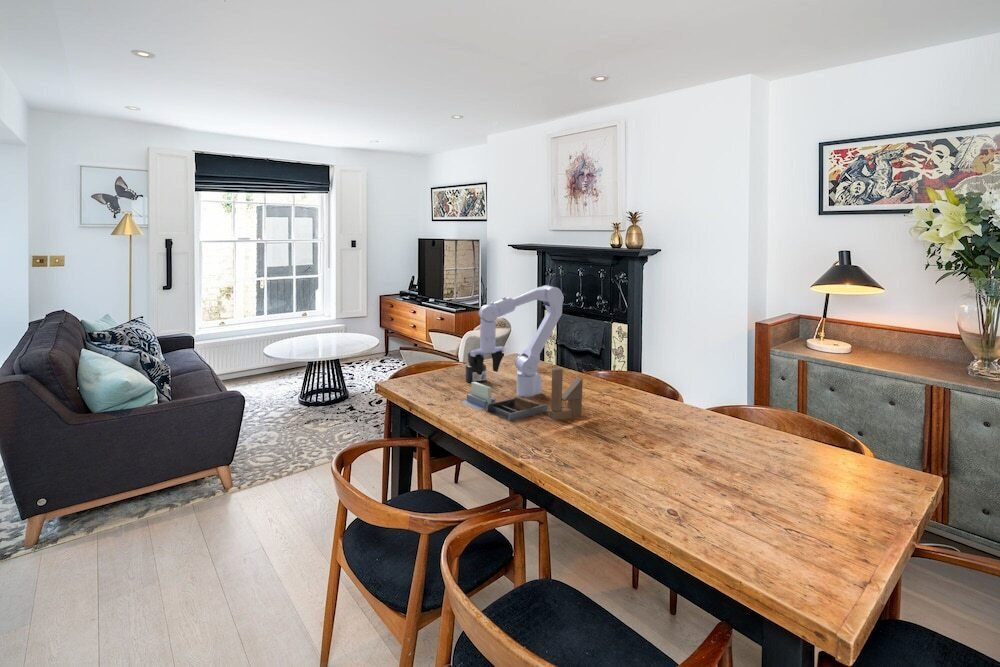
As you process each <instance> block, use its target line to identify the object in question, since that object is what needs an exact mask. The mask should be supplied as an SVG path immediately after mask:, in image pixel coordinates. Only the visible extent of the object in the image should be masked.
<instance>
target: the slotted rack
mask: <svg viewBox="0 0 1000 667" xmlns="http://www.w3.org/2000/svg"><path fill="white" fill-rule="evenodd" d="M519 397H521V398H525V399H526V397H525V396H519ZM485 410H486V413H488V414H491V415H493V416H496V417H499V418H500V419H503V420H506V421H508V422H510V423H511V422H514V421H517V420H522V419H526V418H529V417H532V416H537V415H540V414H544V413H547V412H548V413H549V404H547V403H544V404H539V406H536V407H532V408H529V409H525V410H520V409H518V408H515V397H512V398H508V399H505V400H500V401H495V403H491V404H486V409H485Z"/></svg>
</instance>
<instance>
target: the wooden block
mask: <svg viewBox="0 0 1000 667" xmlns="http://www.w3.org/2000/svg"><path fill="white" fill-rule="evenodd" d="M563 370H564V369H563V368H561V367H553V368H551V398H550V401H551V403H550V409H548V417H549V419H551V420H552V421H558V420H565V419H571V418H573V419H574V418H580V417H582V402H583V400H582V399H583V380H584V379H583V378H582V377H579V376H576V377H575V378H574V379H573V381H572V382H571V383H570V384H569V386H568V387H567V388H566V389H565V390H564V391H563V377H564V376H563V374H564V371H563ZM563 402H567V408H566V407H563Z"/></svg>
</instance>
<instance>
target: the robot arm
mask: <svg viewBox="0 0 1000 667" xmlns="http://www.w3.org/2000/svg"><path fill="white" fill-rule="evenodd" d="M564 299H565V297H564V295H563V292H562V290H561V289H560V288H559V287H557V286H551V285H548V284H545V285H542V286H538V287H536V288H535V287H534V288H533V289H531V290H529V291H527V292H525V293H523V294H520V295H517V296H516V297H513V298H512V297H509V296H502V297H501V299H499V300H496V301H495V302H493V301H491V302H490V303H489V304H490V305H489V304H484V305H482V306H480V309H479V310H478V313H477V314H478V316H479V318H480V326H479V329H480V330H479V339H480V340H479V348H475V349H472V350H470V352H471V358H472V360H473V362H474V364H475V367H476V371H477V374H479V375H482V365H483V363H484V362H483V360H484V361H485V357H484V358H483V357H481V355H484V356H485V355H489V354H490V356H491V359H492V370H493V372H496V373H497V372H499V368H500V366H501V365H500V364H501V362H502V360H503V358H504V357H505V346H503V345H500V346H496V338H497V337H496V329H497V328H496V320H497V319H498V318H499V317H503V316H505V315H507V314H510V313H513V312H514V311H515V310H516V308H517V307H519V306H521V305H525V304H527V303H531V302H533V301H539V302H540V301H541V302H542V303H543V304H544V306H545V310H546V314H545V315H544V317H543V319H542V320H541V323H540V324H539V326H538V328H537V330H536V332H535V334H534V336H533V337H532V339H531V341H530V343H529V345H527V348H525V349H524V350H522V352H521V354H520V355H518V356H517V357H516V359H515V361H514V362H515V363H514V364H515V367H516V369H517V372H516V395H517V397H520V396H525V398H526V397H527V398H529V397H530V398H531V397H534V396H536V395H540V394H542V381H543V380H542V376H541V374H540V373H538V372H537V371H538V368H539V363H540V361H541V355H540V354H541V353H542V351H543V349H544V348H545V346H546V345H547V342H548V340H549V338H550V336H551V335H552V333H553V331H554V329H555V327H556V325H557V324H558V321H560V319H561V317H562V314H563V301H564Z"/></svg>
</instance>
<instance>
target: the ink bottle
mask: <svg viewBox="0 0 1000 667" xmlns="http://www.w3.org/2000/svg"><path fill="white" fill-rule="evenodd" d="M481 357H483V358H484V360H483V365H482V375H479V374H477V371H476V367H475V364H474V362H473V360H472V358H471V351H470V352H468V353H467V364H466V365H465V381H466V383H470V384H471V382H477V383H480V384H482V383H484V382H486V381H487V365H486V364H485V363H484V362H485V355H481ZM481 382H482V383H481Z"/></svg>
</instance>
